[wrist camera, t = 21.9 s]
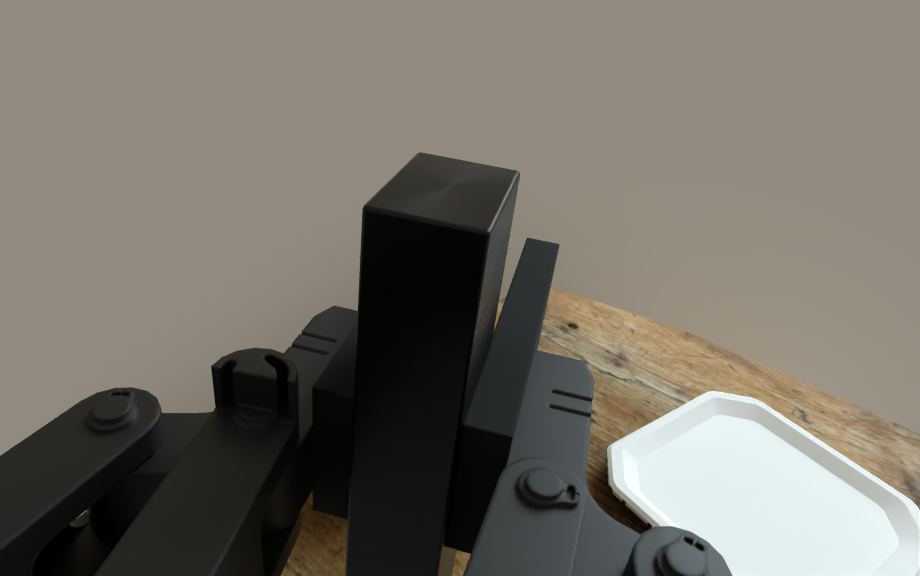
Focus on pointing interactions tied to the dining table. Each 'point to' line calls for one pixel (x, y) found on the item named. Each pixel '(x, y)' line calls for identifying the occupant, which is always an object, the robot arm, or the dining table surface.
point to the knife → (421, 354)
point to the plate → (763, 493)
